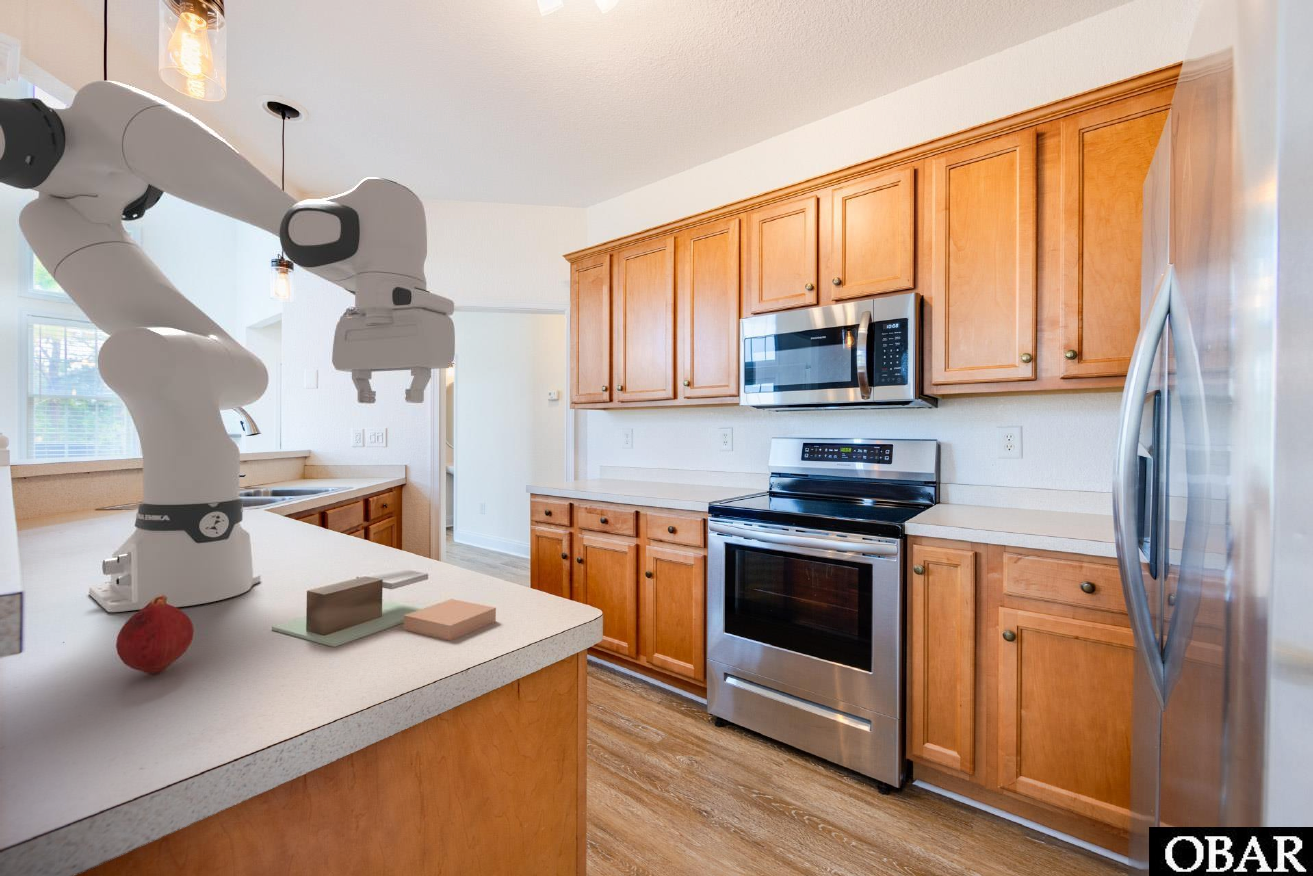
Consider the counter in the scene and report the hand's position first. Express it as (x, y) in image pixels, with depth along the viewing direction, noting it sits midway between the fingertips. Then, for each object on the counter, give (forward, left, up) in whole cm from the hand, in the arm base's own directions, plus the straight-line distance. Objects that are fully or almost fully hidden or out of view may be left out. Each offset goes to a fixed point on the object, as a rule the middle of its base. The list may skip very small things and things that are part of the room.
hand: (389, 403), depth 77 cm
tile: (+11, -3, -28) cm, 30 cm away
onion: (-4, -24, -29) cm, 38 cm away
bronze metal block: (0, -3, -29) cm, 29 cm away
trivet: (-1, -4, -29) cm, 29 cm away
